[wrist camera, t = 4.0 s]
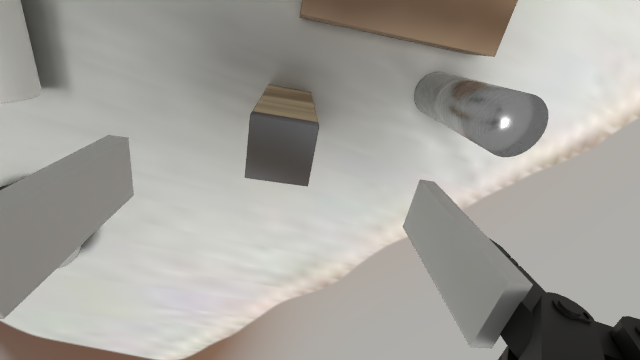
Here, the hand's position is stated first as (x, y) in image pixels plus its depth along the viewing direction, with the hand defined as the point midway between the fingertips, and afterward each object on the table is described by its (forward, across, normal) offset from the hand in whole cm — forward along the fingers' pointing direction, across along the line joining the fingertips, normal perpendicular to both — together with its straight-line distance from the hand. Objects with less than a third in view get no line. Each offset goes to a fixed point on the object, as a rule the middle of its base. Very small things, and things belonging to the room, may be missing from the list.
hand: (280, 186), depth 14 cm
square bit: (+17, 0, 0) cm, 17 cm away
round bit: (+17, +14, +4) cm, 22 cm away
